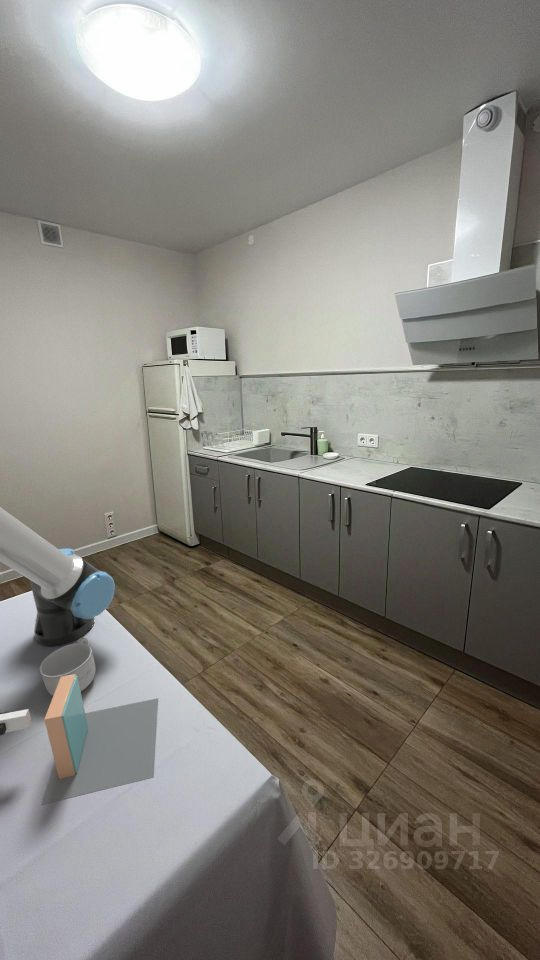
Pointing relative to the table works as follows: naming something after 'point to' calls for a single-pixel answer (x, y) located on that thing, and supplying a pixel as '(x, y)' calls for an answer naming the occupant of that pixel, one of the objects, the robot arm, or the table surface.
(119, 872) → the table surface
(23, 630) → the table surface
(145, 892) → the table surface
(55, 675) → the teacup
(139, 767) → the mat
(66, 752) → the tile
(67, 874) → the table surface
